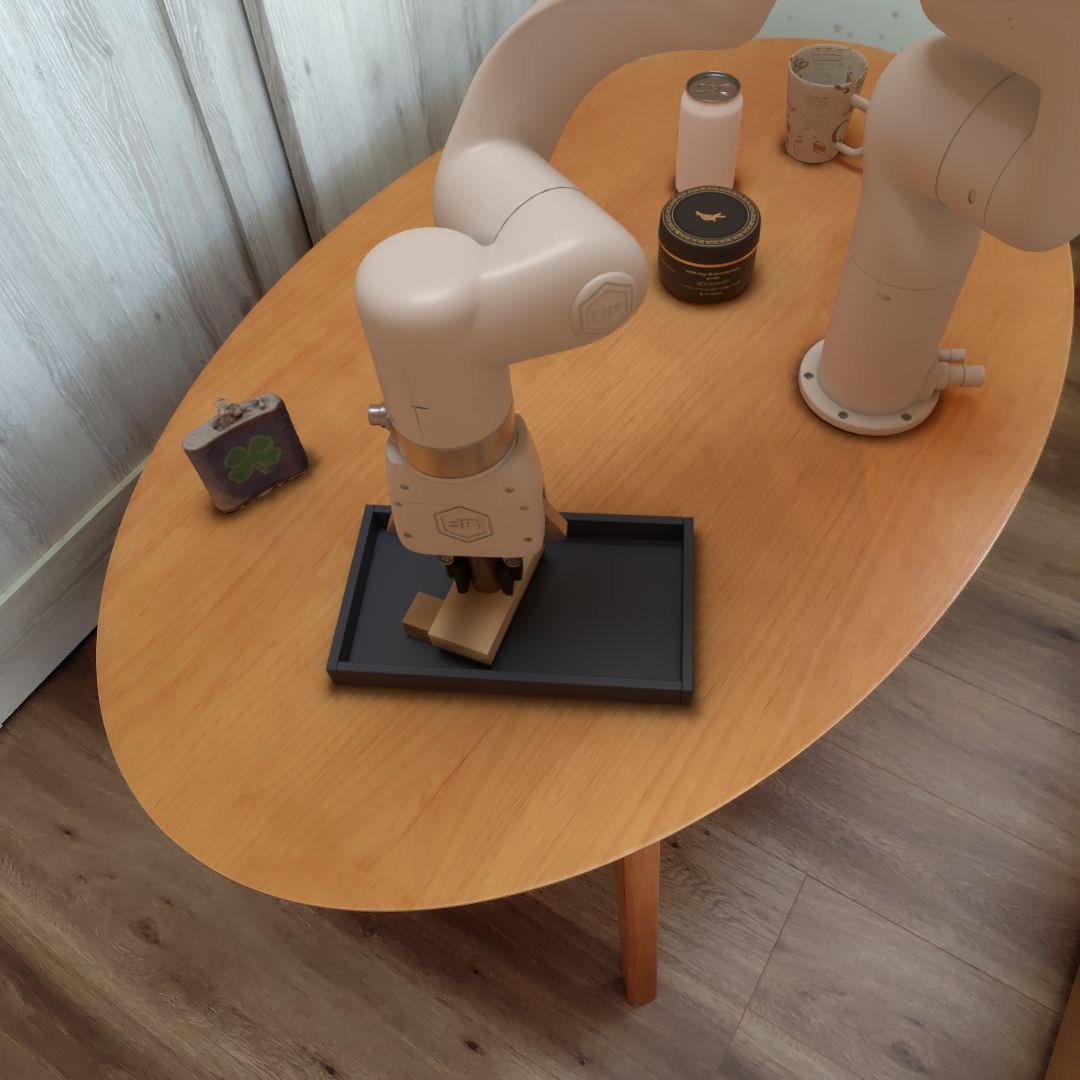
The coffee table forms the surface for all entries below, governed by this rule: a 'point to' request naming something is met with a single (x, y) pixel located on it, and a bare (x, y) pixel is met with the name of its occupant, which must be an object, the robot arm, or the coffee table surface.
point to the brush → (480, 611)
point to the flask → (245, 450)
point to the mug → (823, 101)
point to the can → (709, 131)
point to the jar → (708, 243)
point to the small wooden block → (421, 615)
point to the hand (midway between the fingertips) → (487, 577)
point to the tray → (535, 616)
